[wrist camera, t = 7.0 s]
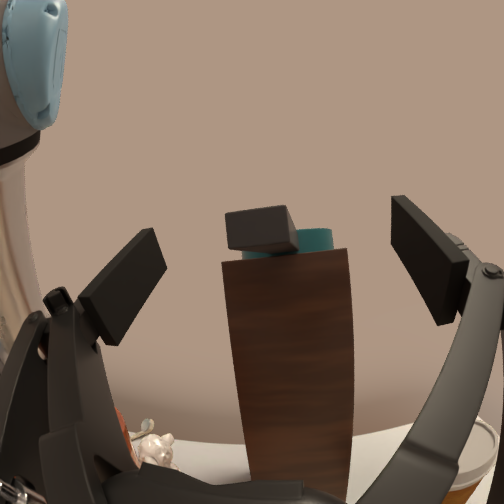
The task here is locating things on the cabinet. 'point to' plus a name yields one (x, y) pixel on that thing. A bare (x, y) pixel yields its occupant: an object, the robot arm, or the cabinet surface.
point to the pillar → (294, 365)
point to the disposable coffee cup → (474, 462)
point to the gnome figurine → (157, 450)
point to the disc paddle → (272, 233)
